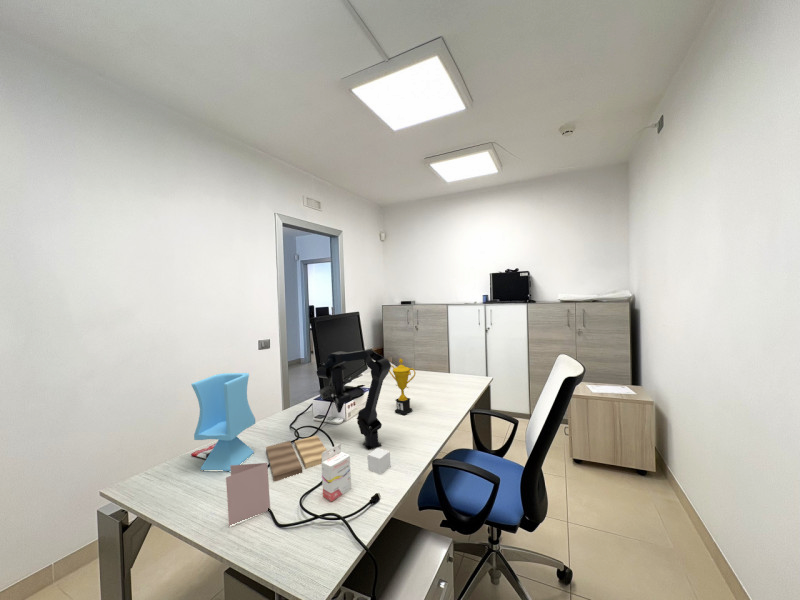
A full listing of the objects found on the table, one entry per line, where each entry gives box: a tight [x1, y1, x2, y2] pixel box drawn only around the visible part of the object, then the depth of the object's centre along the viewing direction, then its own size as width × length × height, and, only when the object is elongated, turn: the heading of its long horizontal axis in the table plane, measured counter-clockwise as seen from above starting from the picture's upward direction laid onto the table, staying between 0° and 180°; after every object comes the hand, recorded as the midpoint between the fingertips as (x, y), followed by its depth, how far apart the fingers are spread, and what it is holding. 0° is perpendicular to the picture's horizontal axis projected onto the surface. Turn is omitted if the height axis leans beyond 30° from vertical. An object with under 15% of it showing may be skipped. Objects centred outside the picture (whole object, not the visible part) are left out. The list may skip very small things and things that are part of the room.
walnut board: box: [265, 440, 303, 482], centre depth 125 cm, size 26×10×2 cm, turn 29°
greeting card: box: [225, 462, 271, 527], centre depth 93 cm, size 11×7×15 cm, turn 92°
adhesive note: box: [367, 447, 391, 475], centre depth 116 cm, size 6×6×6 cm
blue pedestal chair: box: [191, 372, 256, 471], centre depth 126 cm, size 16×16×35 cm
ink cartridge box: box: [320, 443, 352, 502], centre depth 103 cm, size 9×5×15 cm, turn 141°
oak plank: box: [294, 435, 330, 469], centre depth 130 cm, size 22×10×2 cm, turn 29°
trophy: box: [388, 358, 416, 416], centre depth 170 cm, size 19×10×30 cm, turn 51°
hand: (339, 412), depth 143 cm, fingers closed
